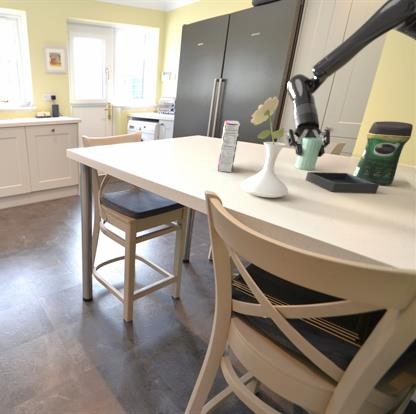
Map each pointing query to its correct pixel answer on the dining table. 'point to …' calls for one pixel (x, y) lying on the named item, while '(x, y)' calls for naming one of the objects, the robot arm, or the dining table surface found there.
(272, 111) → the flower in vase
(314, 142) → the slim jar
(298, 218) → the dining table surface
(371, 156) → the coffee jar
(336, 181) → the dark square tray
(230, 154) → the candy bar box
